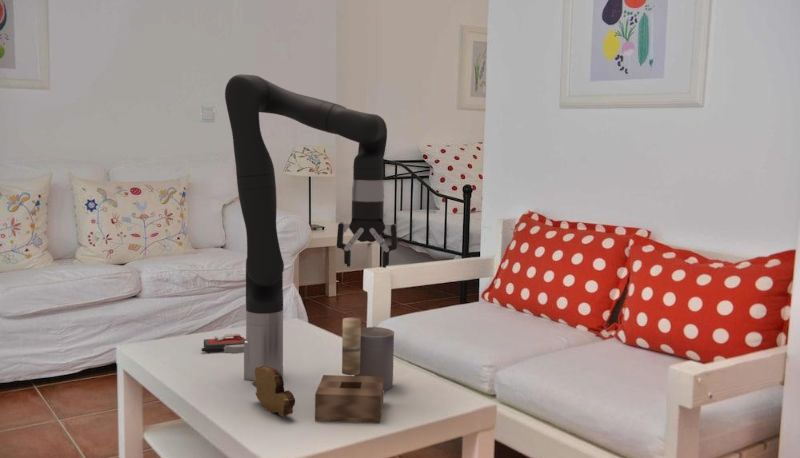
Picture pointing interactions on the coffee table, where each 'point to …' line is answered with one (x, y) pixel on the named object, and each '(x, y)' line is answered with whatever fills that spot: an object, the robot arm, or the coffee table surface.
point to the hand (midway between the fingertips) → (366, 266)
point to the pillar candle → (377, 354)
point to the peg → (351, 346)
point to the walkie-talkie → (225, 344)
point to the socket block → (349, 399)
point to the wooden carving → (273, 391)
